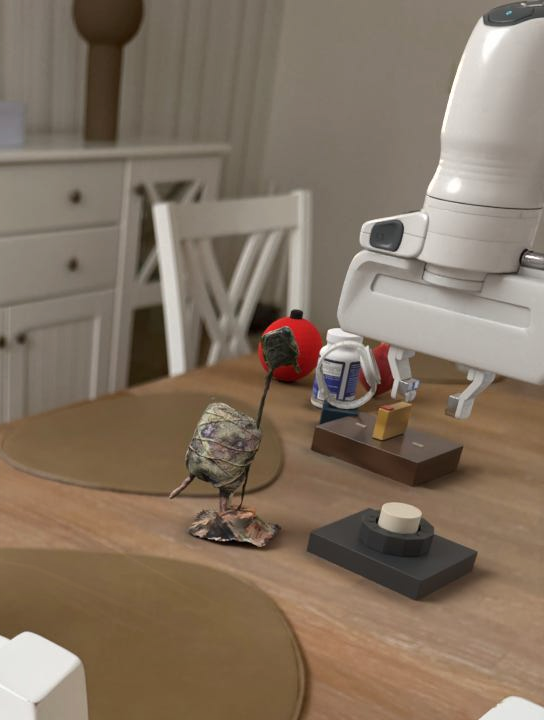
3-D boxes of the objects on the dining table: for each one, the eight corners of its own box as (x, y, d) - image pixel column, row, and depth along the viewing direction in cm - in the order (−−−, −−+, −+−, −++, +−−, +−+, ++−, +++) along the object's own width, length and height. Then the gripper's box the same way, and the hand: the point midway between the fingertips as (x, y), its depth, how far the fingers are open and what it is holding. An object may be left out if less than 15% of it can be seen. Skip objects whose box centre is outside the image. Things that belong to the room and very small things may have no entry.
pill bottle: (341, 398, 137) (357, 326, 132) (358, 412, 133) (375, 338, 127) (303, 398, 136) (317, 325, 131) (319, 412, 132) (334, 337, 126)
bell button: (424, 529, 92) (429, 512, 91) (403, 538, 89) (408, 521, 88) (391, 515, 94) (395, 499, 93) (370, 524, 92) (374, 507, 91)
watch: (368, 440, 123) (389, 352, 117) (303, 431, 124) (321, 344, 118) (368, 426, 127) (388, 341, 121) (306, 418, 129) (322, 333, 123)
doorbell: (472, 572, 93) (484, 533, 91) (415, 602, 87) (427, 562, 85) (364, 527, 100) (373, 490, 98) (305, 551, 94) (313, 513, 92)
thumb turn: (395, 429, 118) (402, 399, 116) (405, 433, 117) (413, 402, 115) (371, 437, 115) (379, 406, 113) (382, 440, 114) (389, 409, 112)
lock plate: (457, 469, 116) (464, 444, 114) (411, 487, 110) (418, 461, 109) (357, 434, 125) (362, 410, 123) (310, 449, 119) (315, 424, 117)
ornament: (326, 381, 144) (340, 311, 139) (298, 393, 138) (312, 321, 133) (271, 367, 149) (283, 299, 144) (242, 378, 143) (254, 308, 137)
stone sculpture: (195, 501, 103) (223, 306, 93) (292, 535, 97) (333, 331, 87) (152, 524, 97) (176, 319, 87) (252, 561, 92) (291, 347, 81)
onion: (401, 398, 139) (416, 341, 135) (382, 406, 136) (396, 348, 131) (365, 388, 143) (378, 332, 138) (345, 395, 139) (357, 338, 135)
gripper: (620, 261, 74) (560, 436, 81) (386, 217, 86) (352, 372, 94) (584, 268, 70) (525, 451, 77) (345, 221, 83) (313, 382, 90)
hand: (428, 407), depth 86 cm, fingers open, 4 cm apart
